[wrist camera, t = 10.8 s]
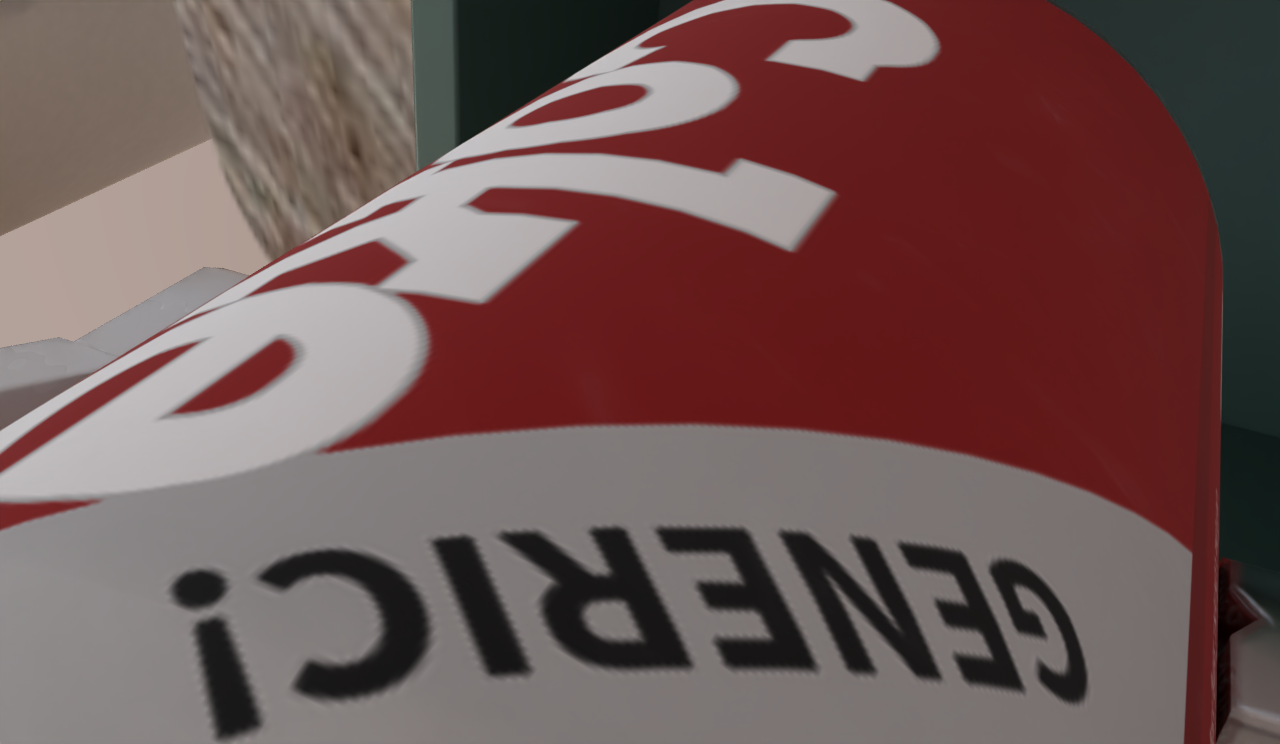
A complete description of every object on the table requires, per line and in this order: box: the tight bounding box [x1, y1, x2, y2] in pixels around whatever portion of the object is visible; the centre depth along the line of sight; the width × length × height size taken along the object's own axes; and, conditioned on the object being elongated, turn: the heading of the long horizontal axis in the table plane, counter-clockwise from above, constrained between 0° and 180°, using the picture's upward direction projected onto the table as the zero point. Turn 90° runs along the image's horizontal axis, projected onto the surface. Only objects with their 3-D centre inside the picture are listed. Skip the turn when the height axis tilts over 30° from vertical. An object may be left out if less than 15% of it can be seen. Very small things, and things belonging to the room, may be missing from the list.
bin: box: [411, 0, 1280, 572], centre depth 19 cm, size 16×16×9 cm
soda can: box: [0, 0, 1223, 744], centre depth 8 cm, size 7×7×12 cm
